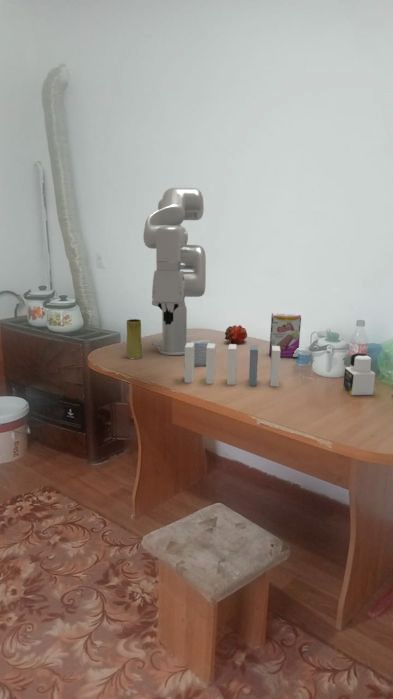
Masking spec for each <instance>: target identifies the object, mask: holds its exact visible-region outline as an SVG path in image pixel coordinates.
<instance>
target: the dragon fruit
mask: <svg viewBox="0 0 393 699" xmlns="http://www.w3.org/2000/svg"><path fill="white" fill-rule="evenodd" d="M224 336H225V337H224V339H225V340H227V342H229V344H235V343H236V344H243V343H244V342H245V340H246V339H247V337H248V333H247V329H246V328H245V327H243V326H242V325H238V326H237V325H236V324H235V325H232V326H228V327H226V330H225V332H224Z"/></svg>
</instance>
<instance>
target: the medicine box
mask: <svg viewBox="0 0 393 699" xmlns="http://www.w3.org/2000/svg"><path fill="white" fill-rule="evenodd" d="M188 343H195V344H194V367H204V366H205V367H206V348H207V345H208V343H213V342H212V341H211V339H210V340H209V339H201V340H200V339H199V340H189V342H188Z"/></svg>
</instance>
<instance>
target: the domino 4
mask: <svg viewBox="0 0 393 699" xmlns="http://www.w3.org/2000/svg"><path fill="white" fill-rule="evenodd" d="M249 348H250V349H249V367H248V369H249V372H248V386H252V387H253V386H255V387H256V386H257V383H258V382H257V380H258V364H259V362H258V361H259V359H258V358H259V345H258V344H250V346H249Z"/></svg>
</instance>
